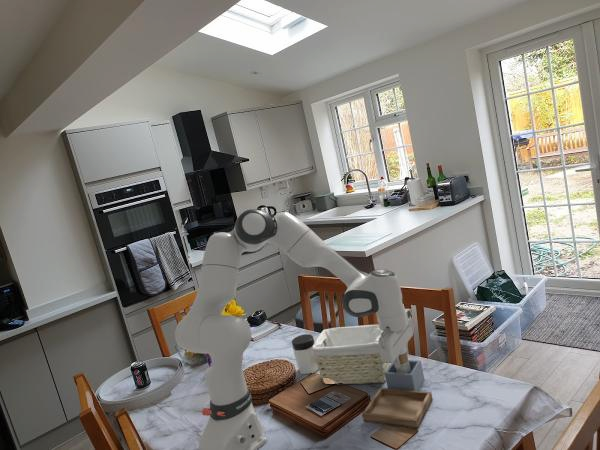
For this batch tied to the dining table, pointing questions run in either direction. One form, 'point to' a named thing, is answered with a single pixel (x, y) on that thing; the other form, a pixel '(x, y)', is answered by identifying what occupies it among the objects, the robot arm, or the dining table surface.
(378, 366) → the storage basket
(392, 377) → the blue-grey square bin
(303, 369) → the jar
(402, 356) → the sprinkles bottle
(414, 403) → the tray
